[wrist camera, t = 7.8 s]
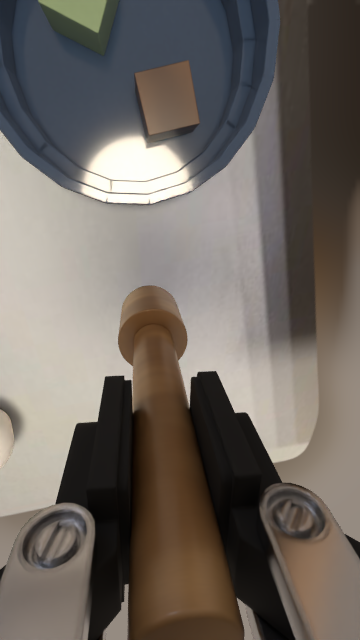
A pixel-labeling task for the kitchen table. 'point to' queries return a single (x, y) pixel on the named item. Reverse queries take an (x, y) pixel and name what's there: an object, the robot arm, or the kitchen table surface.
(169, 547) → the muddler
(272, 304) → the kitchen table surface
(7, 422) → the white ball candle
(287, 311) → the kitchen table surface
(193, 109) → the walnut block
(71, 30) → the sage block
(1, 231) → the kitchen table surface
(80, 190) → the mixing bowl
